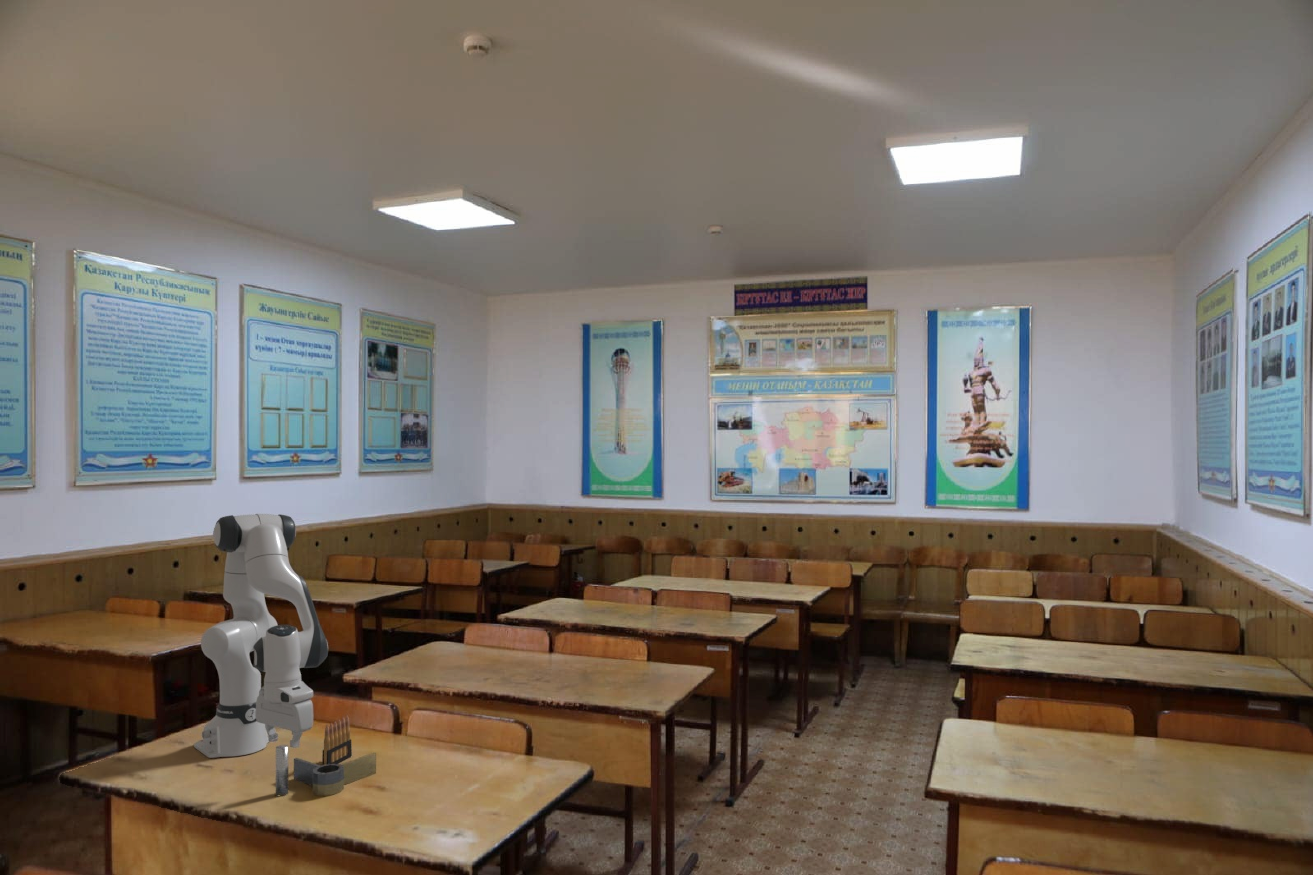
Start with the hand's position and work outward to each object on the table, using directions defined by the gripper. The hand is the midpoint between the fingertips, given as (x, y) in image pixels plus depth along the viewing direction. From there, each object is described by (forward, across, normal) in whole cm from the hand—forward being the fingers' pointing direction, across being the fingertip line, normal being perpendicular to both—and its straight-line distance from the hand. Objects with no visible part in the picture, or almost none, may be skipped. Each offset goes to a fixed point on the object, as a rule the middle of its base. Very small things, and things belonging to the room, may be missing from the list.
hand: (283, 744), depth 221 cm
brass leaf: (+13, +7, +13) cm, 20 cm away
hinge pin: (+13, -1, 0) cm, 13 cm away
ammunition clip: (+13, -9, +22) cm, 27 cm away
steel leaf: (+13, +2, +8) cm, 15 cm away
